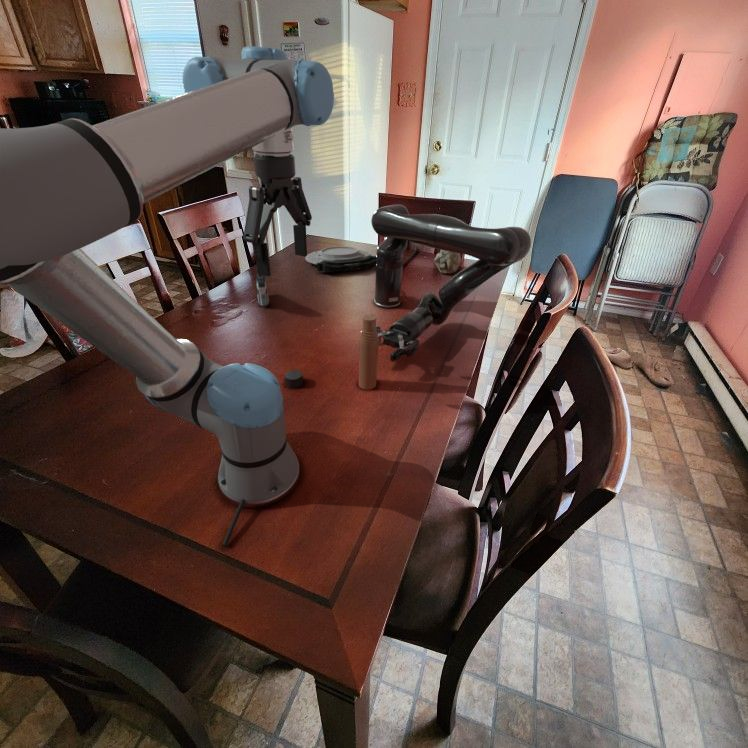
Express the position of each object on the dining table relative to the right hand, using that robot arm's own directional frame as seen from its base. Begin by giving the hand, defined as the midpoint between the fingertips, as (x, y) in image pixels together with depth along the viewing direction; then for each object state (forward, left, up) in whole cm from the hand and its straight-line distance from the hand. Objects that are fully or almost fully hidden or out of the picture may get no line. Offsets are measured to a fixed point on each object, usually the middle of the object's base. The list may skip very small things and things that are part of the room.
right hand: (377, 352), depth 108 cm
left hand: (+8, -21, +25) cm, 33 cm away
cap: (+8, -21, -7) cm, 23 cm away
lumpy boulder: (-83, +20, -7) cm, 86 cm away
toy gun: (-36, -44, -7) cm, 57 cm away
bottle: (+5, -2, -7) cm, 9 cm away
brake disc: (-82, -26, -7) cm, 86 cm away
